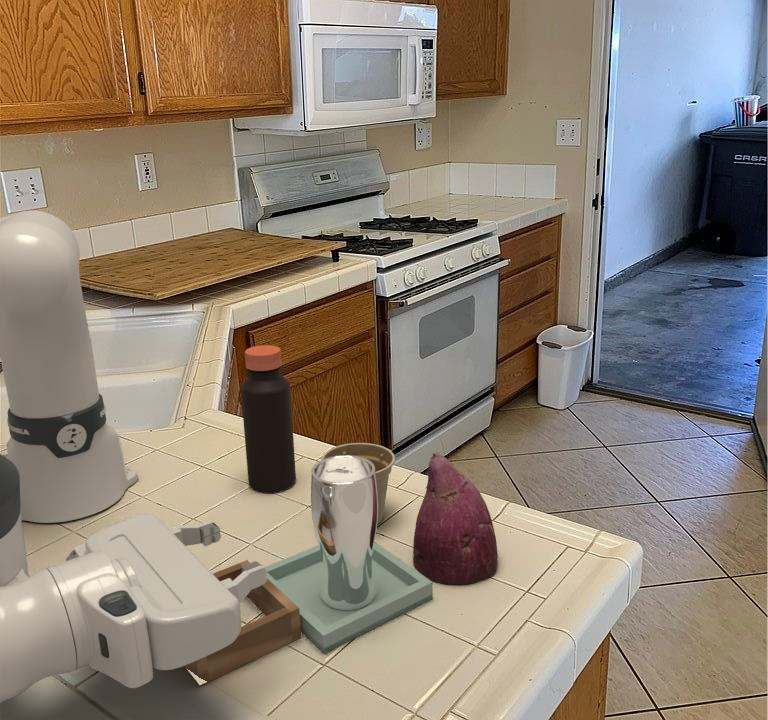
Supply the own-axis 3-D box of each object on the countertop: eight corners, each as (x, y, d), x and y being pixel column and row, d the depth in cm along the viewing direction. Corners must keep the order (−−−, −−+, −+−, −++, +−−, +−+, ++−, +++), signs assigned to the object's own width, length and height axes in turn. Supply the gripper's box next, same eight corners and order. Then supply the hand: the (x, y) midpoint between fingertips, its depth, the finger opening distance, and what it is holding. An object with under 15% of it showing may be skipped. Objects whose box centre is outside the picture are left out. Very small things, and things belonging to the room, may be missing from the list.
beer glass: (346, 567, 87) (341, 448, 82) (393, 590, 83) (391, 466, 78) (303, 596, 82) (294, 471, 77) (350, 622, 77) (345, 491, 73)
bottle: (263, 499, 104) (253, 361, 98) (239, 482, 109) (228, 349, 103) (305, 484, 108) (297, 350, 102) (280, 468, 113) (271, 340, 107)
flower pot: (406, 528, 96) (406, 467, 93) (335, 543, 93) (332, 480, 90) (382, 495, 104) (380, 438, 102) (315, 508, 101) (312, 449, 99)
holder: (154, 626, 78) (150, 598, 77) (249, 587, 85) (247, 559, 84) (199, 686, 70) (195, 655, 69) (301, 637, 76) (299, 608, 75)
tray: (255, 587, 85) (254, 571, 84) (357, 544, 93) (356, 529, 92) (324, 653, 74) (323, 635, 73) (432, 598, 82) (432, 582, 81)
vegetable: (400, 588, 89) (362, 475, 86) (451, 541, 96) (417, 434, 93) (471, 603, 82) (433, 481, 79) (520, 551, 89) (487, 436, 86)
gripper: (65, 581, 74) (196, 534, 82) (142, 701, 59) (294, 629, 67) (55, 525, 72) (191, 482, 80) (132, 634, 57) (290, 567, 65)
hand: (239, 549), depth 73 cm, fingers open, 8 cm apart
